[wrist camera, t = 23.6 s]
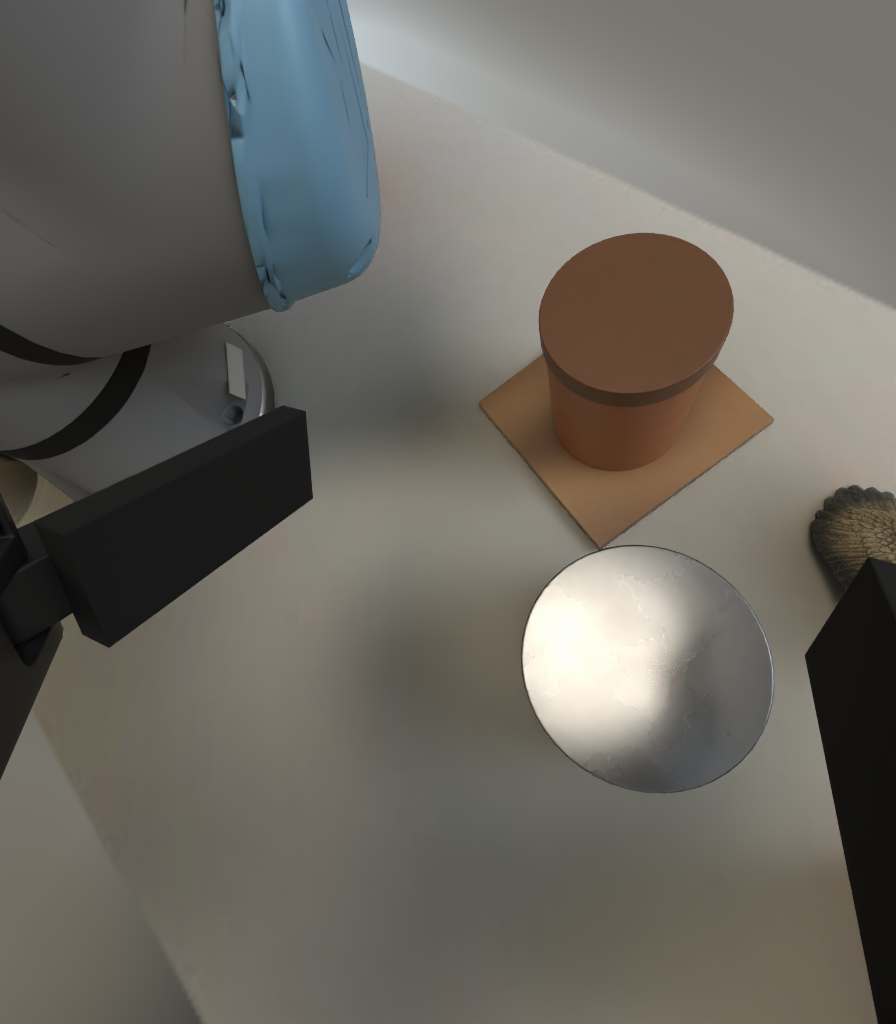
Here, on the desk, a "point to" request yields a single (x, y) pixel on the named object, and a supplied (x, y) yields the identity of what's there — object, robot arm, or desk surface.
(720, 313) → the copper tin
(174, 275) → the robot arm
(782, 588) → the desk surface
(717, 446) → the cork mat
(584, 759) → the green tin
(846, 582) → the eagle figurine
